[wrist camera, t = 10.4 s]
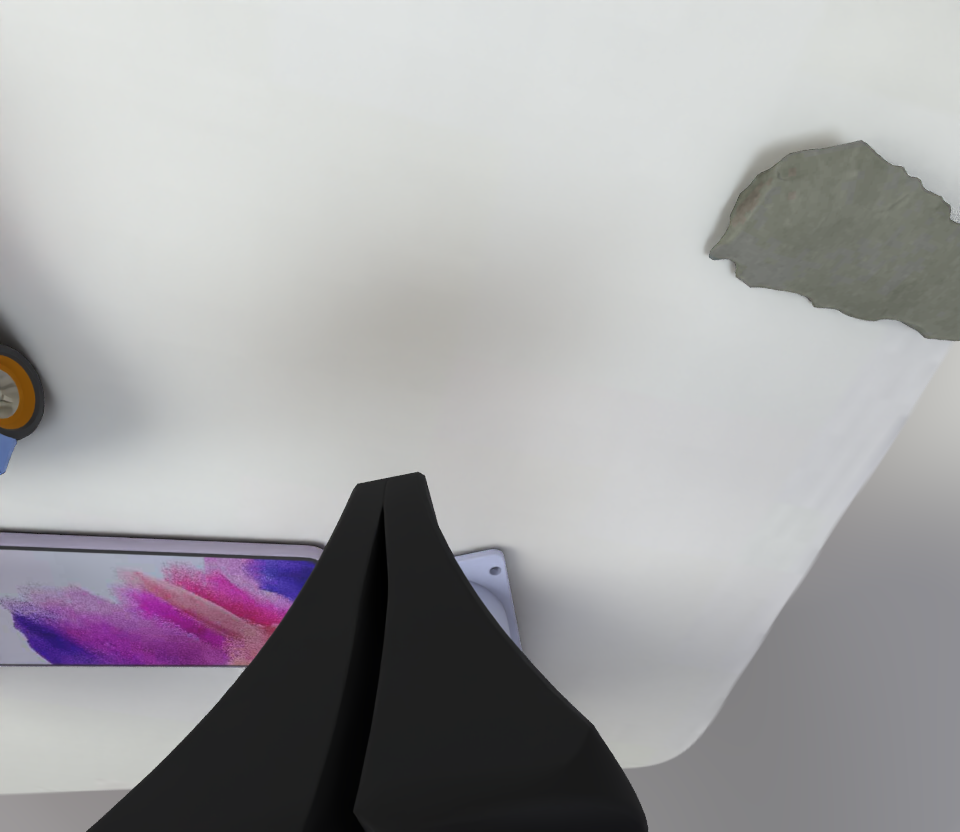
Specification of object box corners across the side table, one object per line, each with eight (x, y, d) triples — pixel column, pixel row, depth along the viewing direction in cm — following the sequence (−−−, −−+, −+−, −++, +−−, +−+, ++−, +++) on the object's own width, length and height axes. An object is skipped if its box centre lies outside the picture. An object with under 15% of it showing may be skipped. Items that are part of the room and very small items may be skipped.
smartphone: (-106, 539, 21) (328, 556, 24) (-89, 522, 22) (330, 541, 25) (-51, 669, 25) (321, 670, 28) (-38, 651, 26) (323, 654, 28)
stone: (802, 93, 17) (685, 236, 20) (829, 115, 16) (699, 265, 19) (1067, 282, 21) (934, 379, 24) (1109, 314, 19) (962, 413, 23)
